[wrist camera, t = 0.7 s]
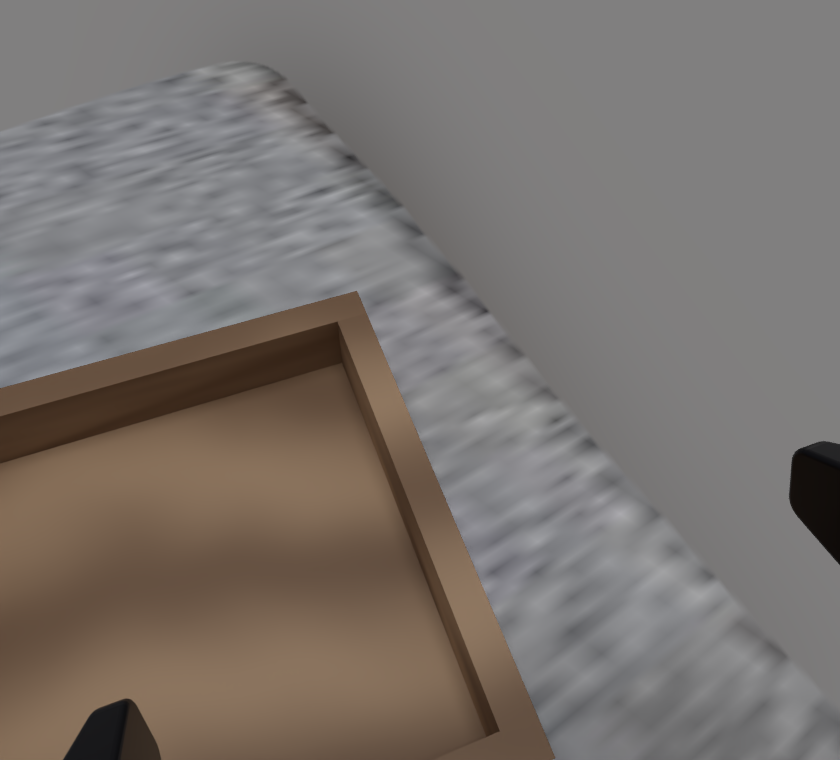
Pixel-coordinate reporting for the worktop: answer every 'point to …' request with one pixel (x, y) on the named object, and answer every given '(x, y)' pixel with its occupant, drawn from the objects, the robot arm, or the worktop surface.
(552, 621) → the worktop surface
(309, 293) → the worktop surface
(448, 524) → the tray
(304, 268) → the worktop surface
